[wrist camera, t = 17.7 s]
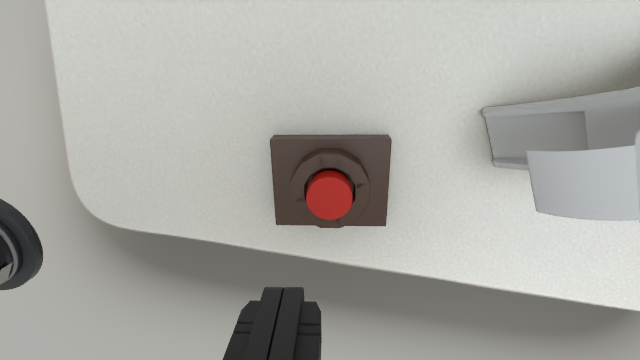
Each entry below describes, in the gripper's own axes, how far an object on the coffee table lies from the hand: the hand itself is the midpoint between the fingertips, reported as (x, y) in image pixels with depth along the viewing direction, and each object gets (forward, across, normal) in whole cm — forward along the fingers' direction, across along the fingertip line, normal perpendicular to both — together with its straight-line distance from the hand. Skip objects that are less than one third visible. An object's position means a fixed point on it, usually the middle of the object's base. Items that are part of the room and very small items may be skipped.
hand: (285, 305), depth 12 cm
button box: (+17, -2, +1) cm, 17 cm away
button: (+14, -2, +1) cm, 14 cm away
